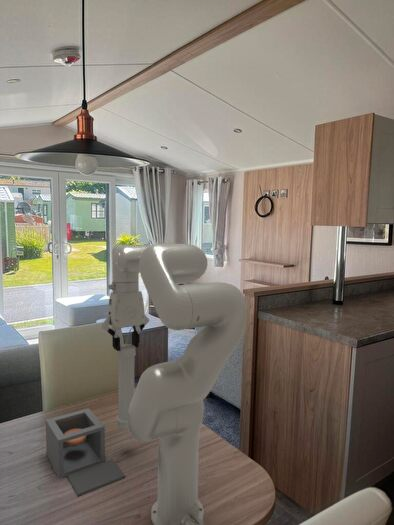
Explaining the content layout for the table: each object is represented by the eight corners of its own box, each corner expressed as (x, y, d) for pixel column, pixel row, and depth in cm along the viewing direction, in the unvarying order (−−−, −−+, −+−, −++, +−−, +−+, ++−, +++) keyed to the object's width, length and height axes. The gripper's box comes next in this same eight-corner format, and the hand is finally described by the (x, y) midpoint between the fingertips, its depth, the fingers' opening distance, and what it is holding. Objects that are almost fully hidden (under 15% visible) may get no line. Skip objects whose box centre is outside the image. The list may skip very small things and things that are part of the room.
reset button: (89, 445, 112) (89, 435, 111) (67, 453, 108) (67, 442, 108) (82, 435, 117) (82, 426, 116) (60, 442, 113) (60, 432, 113)
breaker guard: (104, 462, 111) (104, 426, 110) (59, 478, 104) (58, 440, 103) (89, 441, 122) (88, 408, 121) (46, 454, 114) (45, 419, 113)
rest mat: (125, 477, 105) (125, 475, 105) (77, 496, 97) (77, 494, 97) (112, 460, 112) (112, 458, 112) (67, 477, 105) (67, 475, 104)
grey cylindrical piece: (113, 427, 114) (113, 328, 112) (126, 418, 120) (126, 323, 117) (127, 432, 112) (128, 330, 109) (140, 422, 117) (141, 326, 115)
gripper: (102, 291, 104) (103, 356, 105) (157, 286, 114) (157, 346, 115) (92, 288, 110) (93, 349, 112) (145, 283, 120) (146, 340, 121)
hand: (126, 347), depth 113 cm, fingers closed on grey cylindrical piece, 5 cm apart
